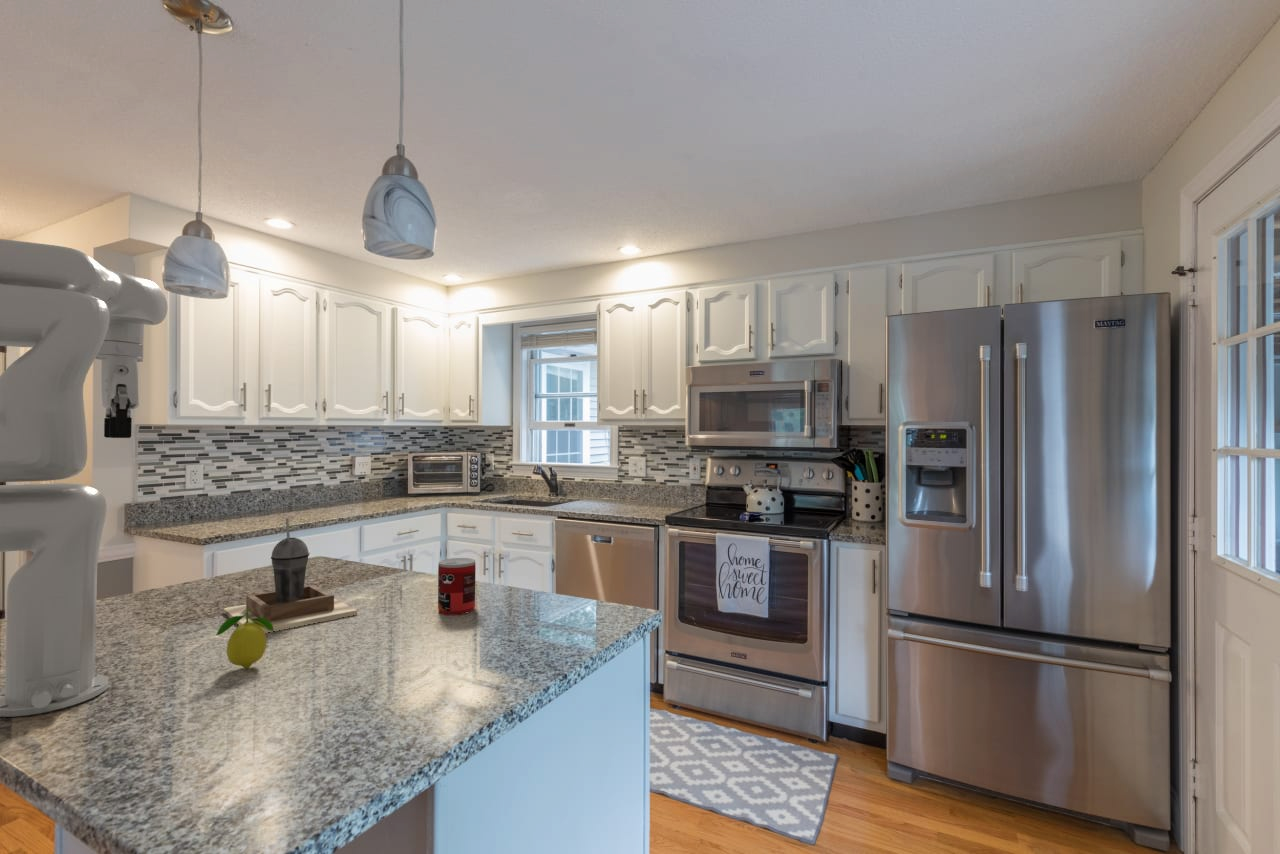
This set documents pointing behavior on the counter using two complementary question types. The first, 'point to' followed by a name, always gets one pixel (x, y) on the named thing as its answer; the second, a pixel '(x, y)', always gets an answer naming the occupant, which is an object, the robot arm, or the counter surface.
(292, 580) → the beverage cup
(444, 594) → the canned food
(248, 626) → the lemon
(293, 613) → the cup holder
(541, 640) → the counter surface
